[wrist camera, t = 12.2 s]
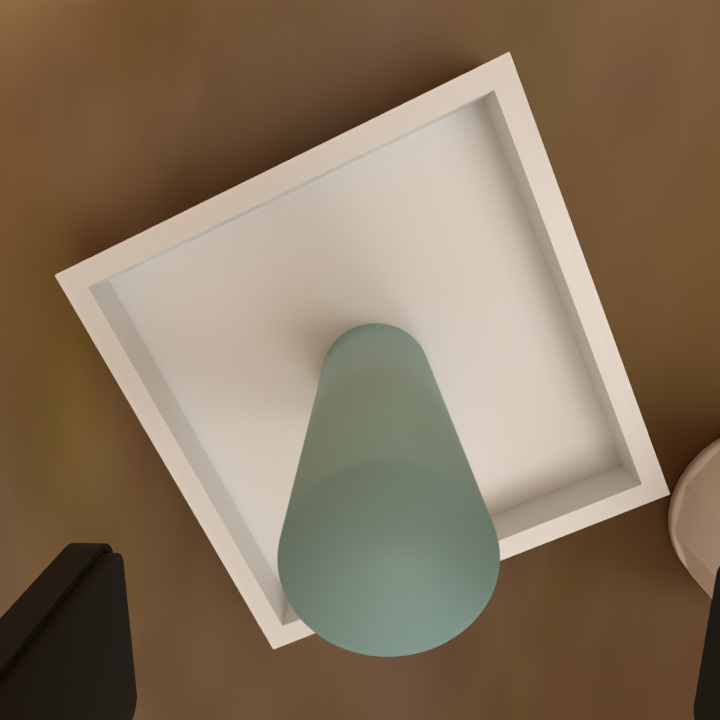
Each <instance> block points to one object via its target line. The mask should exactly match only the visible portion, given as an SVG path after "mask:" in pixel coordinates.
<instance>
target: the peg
mask: <svg viewBox="0 0 720 720" xmlns="http://www.w3.org/2000/svg"><path fill="white" fill-rule="evenodd" d="M277 566H278V573H279V579H280V582H281V585H282V589H283V592H284V594H285V596H286V598H287V600H288V602H289V604H290V605H291V607H292V608H293V610H294V611H295V613H296V614H297V615H298V617H299V618H300V619H301V620H302V621H303V622H304V624H306V625H307V626H308V627H309V628H310V629H311V630H312V631H313V632H315V633H316V634H318V635H319V636H320V637H322V638H323V639H325V640H327V641H328V642H330V643H332V644H334V645H336V646H338V647H341V648H344V649H346V650H349V651H352V652H356V653H360V654H364V655H371V656H381V657H395V656H406V655H411V654H416V653H420V652H423V651H427V650H430V649H433V648H435V647H437V646H439V645H442V644H444V643H446V642H447V641H449V640H451V639H452V638H454V637H456V636H457V635H459V634H460V633H461V632H462V631H464V630H465V629H466V628H467V627H468V626H469V625H470V624H471V623H472V622H473V621H474V620H475V619H476V618H477V617H478V616H479V615H480V613H481V612H482V611H483V609H484V608H485V606H486V605H487V603H488V601H489V599H490V598H491V595H492V593H493V591H494V588H495V586H496V582H497V578H498V574H499V566H500V548H499V542H498V537H497V533H496V530H495V528H494V525H493V522H492V520H491V517H490V515H489V512H488V510H487V507H486V505H485V502H484V500H483V497H482V495H481V492H480V490H479V487H478V485H477V482H476V480H475V477H474V475H473V472H472V470H471V467H470V465H469V462H468V460H467V457H466V455H465V452H464V450H463V447H462V445H461V442H460V440H459V437H458V435H457V432H456V430H455V427H454V425H453V422H452V420H451V417H450V415H449V412H448V410H447V407H446V405H445V402H444V400H443V397H442V395H441V392H440V390H439V387H438V385H437V382H436V379H435V377H434V374H433V372H432V369H431V367H430V364H429V362H428V359H427V357H426V354H425V353H424V351H423V349H422V347H421V346H420V345H419V343H418V342H417V341H416V340H415V339H414V338H413V337H412V336H411V335H409V334H408V333H407V332H405V331H403V330H402V329H399V328H397V327H395V326H391V325H387V324H378V323H373V324H365V325H361V326H358V327H355V328H353V329H351V330H349V331H347V332H346V333H344V334H343V335H342V336H340V337H339V338H338V339H337V340H336V341H335V343H334V344H333V345H332V346H331V348H330V349H329V351H328V353H327V355H326V358H325V361H324V364H323V368H322V372H321V376H320V380H319V384H318V388H317V392H316V396H315V400H314V404H313V408H312V412H311V416H310V420H309V424H308V428H307V432H306V436H305V440H304V444H303V448H302V452H301V456H300V460H299V464H298V468H297V472H296V476H295V480H294V484H293V488H292V492H291V496H290V500H289V504H288V508H287V512H286V516H285V520H284V524H283V528H282V532H281V536H280V539H279V546H278V553H277Z"/></svg>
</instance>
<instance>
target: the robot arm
mask: <svg viewBox="0 0 720 720" xmlns="http://www.w3.org/2000/svg"><path fill="white" fill-rule="evenodd" d="M136 700H137V692H136V682H135V672H134V662H133V652H132V642H131V632H130V623H129V613H128V603H127V593H126V583H125V573H124V563H123V558H122V556H121V554H119V553H113V551H112V548H111V546H110V545H108V544H102V543H71V544H69V545H68V546H66V547H65V548H64V549H63V550H62V552H61V553H60V554H59V555H58V556H57V557H56V558H55V559H54V560H53V561H52V563H51V564H50V565H49V566H48V567H47V568H46V569H45V570H44V571H43V572H42V574H41V575H40V576H39V577H38V578H37V579H36V580H35V581H34V582H33V583H32V584H31V586H30V587H29V588H28V589H27V590H26V591H25V592H24V593H23V594H22V595H21V597H20V598H19V599H18V600H17V601H16V602H15V603H14V604H13V605H12V606H11V607H10V609H9V610H8V611H7V612H6V613H5V614H4V615H3V616H2V617H1V618H0V720H132V719H133V716H134V712H135V708H136ZM694 718H695V720H720V567H719V568H718V570H717V573H716V578H715V584H714V590H713V596H712V602H711V608H710V614H709V620H708V626H707V632H706V638H705V643H704V649H703V655H702V661H701V667H700V673H699V679H698V685H697V691H696V697H695V703H694Z"/></svg>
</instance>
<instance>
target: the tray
mask: <svg viewBox="0 0 720 720" xmlns="http://www.w3.org/2000/svg"><path fill="white" fill-rule="evenodd" d="M55 277H56V279H57V280H58V282H59V284H60V285H61V287H62V289H63V291H64V292H65V294H66V296H67V297H68V299H69V301H70V303H71V304H72V306H73V308H74V309H75V311H76V313H77V315H78V316H79V318H80V320H81V321H82V323H83V325H84V326H85V328H86V330H87V332H88V333H89V335H90V337H91V338H92V340H93V342H94V344H95V345H96V347H97V349H98V350H99V352H100V354H101V356H102V357H103V359H104V361H105V362H106V364H107V366H108V368H109V369H110V371H111V373H112V374H113V376H114V378H115V379H116V381H117V383H118V385H119V386H120V388H121V390H122V391H123V393H124V395H125V397H126V398H127V400H128V402H129V403H130V405H131V407H132V409H133V410H134V412H135V414H136V415H137V417H138V419H139V421H140V422H141V424H142V426H143V427H144V429H145V431H146V432H147V434H148V436H149V438H150V439H151V441H152V443H153V444H154V446H155V448H156V450H157V451H158V453H159V455H160V456H161V458H162V460H163V462H164V463H165V465H166V467H167V468H168V470H169V472H170V474H171V475H172V477H173V479H174V480H175V482H176V484H177V485H178V487H179V489H180V491H181V492H182V494H183V496H184V497H185V499H186V501H187V503H188V504H189V506H190V508H191V509H192V511H193V513H194V515H195V516H196V518H197V520H198V521H199V523H200V525H201V527H202V528H203V530H204V532H205V533H206V535H207V537H208V538H209V540H210V542H211V544H212V545H213V547H214V549H215V550H216V552H217V554H218V556H219V557H220V559H221V561H222V562H223V564H224V566H225V568H226V569H227V571H228V573H229V574H230V576H231V578H232V580H233V581H234V583H235V585H236V586H237V588H238V590H239V591H240V593H241V595H242V597H243V598H244V600H245V602H246V603H247V605H248V607H249V609H250V610H251V612H252V614H253V615H254V617H255V619H256V621H257V622H258V624H259V626H260V627H261V629H262V631H263V633H264V634H265V636H266V638H267V639H268V641H269V643H270V644H271V646H272V648H273V649H276V648H278V647H281V646H284V645H286V644H289V643H291V642H294V641H296V640H299V639H301V638H304V637H307V636H309V635H312V634H314V633H315V632H313V631H312V630H311V629H310V628H309V627H308V626H307V625H306V624H304V622H303V621H302V620H301V619H300V618H299V617H298V615H297V614H296V613H295V611H294V610H293V608H292V607H291V605H290V604H289V602H288V600H287V598H286V596H285V594H284V592H283V589H282V585H281V582H280V579H279V573H278V566H277V553H278V546H279V539H280V536H281V532H282V528H283V524H284V520H285V516H286V512H287V508H288V504H289V500H290V496H291V492H292V488H293V484H294V480H295V476H296V472H297V468H298V464H299V460H300V456H301V452H302V448H303V444H304V440H305V436H306V432H307V428H308V424H309V420H310V416H311V412H312V408H313V404H314V400H315V396H316V392H317V388H318V384H319V380H320V376H321V372H322V368H323V364H324V361H325V358H326V355H327V353H328V351H329V349H330V348H331V346H332V345H333V344H334V343H335V341H336V340H337V339H338V338H339V337H340V336H342V335H343V334H344V333H346V332H347V331H349V330H351V329H353V328H355V327H358V326H361V325H365V324H373V323H378V324H387V325H391V326H395V327H397V328H399V329H402V330H403V331H405V332H407V333H408V334H409V335H411V336H412V337H413V338H414V339H415V340H416V341H417V342H418V343H419V345H420V346H421V347H422V349H423V351H424V353H425V354H426V357H427V359H428V362H429V364H430V367H431V369H432V372H433V374H434V377H435V379H436V382H437V385H438V387H439V390H440V392H441V395H442V397H443V400H444V402H445V405H446V407H447V410H448V412H449V415H450V417H451V420H452V422H453V425H454V427H455V430H456V432H457V435H458V437H459V440H460V442H461V445H462V447H463V450H464V452H465V455H466V457H467V460H468V462H469V465H470V467H471V470H472V472H473V475H474V477H475V480H476V482H477V485H478V487H479V490H480V492H481V495H482V497H483V500H484V502H485V505H486V507H487V510H488V512H489V515H490V517H491V520H492V522H493V525H494V528H495V530H496V533H497V537H498V542H499V548H500V561H501V560H504V559H506V558H509V557H511V556H514V555H516V554H519V553H521V552H524V551H527V550H529V549H532V548H534V547H537V546H539V545H542V544H544V543H547V542H550V541H552V540H555V539H557V538H560V537H562V536H565V535H567V534H570V533H573V532H575V531H578V530H580V529H583V528H585V527H588V526H590V525H593V524H596V523H598V522H601V521H603V520H606V519H608V518H611V517H613V516H616V515H619V514H621V513H624V512H626V511H629V510H631V509H634V508H637V507H639V506H642V505H644V504H647V503H649V502H652V501H654V500H657V499H660V498H662V497H665V496H667V495H670V493H669V490H668V487H667V484H666V482H665V479H664V476H663V473H662V471H661V468H660V465H659V462H658V459H657V457H656V454H655V451H654V448H653V446H652V443H651V440H650V437H649V435H648V432H647V429H646V426H645V424H644V421H643V418H642V415H641V413H640V410H639V407H638V404H637V402H636V399H635V396H634V393H633V391H632V388H631V385H630V382H629V380H628V377H627V374H626V371H625V369H624V366H623V363H622V360H621V358H620V355H619V352H618V349H617V347H616V344H615V341H614V338H613V336H612V333H611V330H610V327H609V324H608V322H607V319H606V316H605V313H604V311H603V308H602V305H601V302H600V300H599V297H598V294H597V291H596V289H595V286H594V283H593V280H592V278H591V275H590V272H589V269H588V267H587V264H586V261H585V258H584V256H583V253H582V250H581V247H580V245H579V242H578V239H577V236H576V234H575V231H574V228H573V225H572V223H571V220H570V217H569V214H568V212H567V209H566V206H565V203H564V200H563V198H562V195H561V192H560V189H559V187H558V184H557V181H556V178H555V176H554V173H553V170H552V167H551V165H550V162H549V159H548V156H547V154H546V151H545V148H544V145H543V143H542V140H541V137H540V134H539V132H538V129H537V126H536V123H535V121H534V118H533V115H532V112H531V110H530V107H529V104H528V101H527V99H526V96H525V93H524V90H523V88H522V85H521V82H520V79H519V77H518V74H517V71H516V68H515V65H514V63H513V60H512V57H511V54H510V52H508V53H506V54H504V55H502V56H500V57H498V58H495V59H493V60H491V61H489V62H487V63H485V64H483V65H481V66H479V67H477V68H475V69H473V70H471V71H469V72H467V73H465V74H463V75H461V76H459V77H457V78H455V79H453V80H451V81H449V82H447V83H445V84H443V85H441V86H438V87H436V88H434V89H432V90H430V91H428V92H426V93H424V94H422V95H420V96H418V97H416V98H414V99H412V100H410V101H408V102H406V103H404V104H402V105H400V106H398V107H396V108H394V109H392V110H390V111H388V112H386V113H384V114H381V115H379V116H377V117H375V118H373V119H371V120H369V121H367V122H365V123H363V124H361V125H359V126H357V127H355V128H353V129H351V130H349V131H347V132H345V133H343V134H341V135H339V136H337V137H335V138H333V139H331V140H329V141H326V142H324V143H322V144H320V145H318V146H316V147H314V148H312V149H310V150H308V151H306V152H304V153H302V154H300V155H298V156H296V157H294V158H292V159H290V160H288V161H286V162H284V163H282V164H280V165H278V166H276V167H274V168H272V169H269V170H267V171H265V172H263V173H261V174H259V175H257V176H255V177H253V178H251V179H249V180H247V181H245V182H243V183H241V184H239V185H237V186H235V187H233V188H231V189H229V190H227V191H225V192H223V193H221V194H219V195H217V196H215V197H212V198H210V199H208V200H206V201H204V202H202V203H200V204H198V205H196V206H194V207H192V208H190V209H188V210H186V211H184V212H182V213H180V214H178V215H176V216H174V217H172V218H170V219H168V220H166V221H164V222H162V223H160V224H157V225H155V226H153V227H151V228H149V229H147V230H145V231H143V232H141V233H139V234H137V235H135V236H133V237H131V238H129V239H127V240H125V241H123V242H121V243H119V244H117V245H115V246H113V247H111V248H109V249H107V250H105V251H103V252H100V253H98V254H96V255H94V256H92V257H90V258H88V259H86V260H84V261H82V262H80V263H78V264H76V265H74V266H72V267H70V268H68V269H66V270H64V271H62V272H60V273H58V274H56V275H55Z"/></svg>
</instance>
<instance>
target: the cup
mask: <svg viewBox="0 0 720 720" xmlns="http://www.w3.org/2000/svg"><path fill="white" fill-rule="evenodd" d="M668 530H669V536H670V540H671V543H672V546H673V548H674V551H675V553H676V555H677V556H678V558H679V559H680V561H681V562H682V564H683V565H684V566H685V567H686V568H687V569H688V571H689V573H690V574H691V576H692V577H693V578H694V579H695V580H696V581H697V582H698V584H699V585H700V586H701V587H702V588H703V589H704V590H705V592H706V593H707V594H708V595H709V596H710V597H711V598H712V596H713V590H714V584H715V578H716V573H717V570H718V568H719V567H720V438H718V439H717V440H715V441H713V442H712V443H711V444H709V445H708V446H707V447H706V448H704V449H703V450H702V451H701V452H700V453H699V454H698V455H697V456H696V457H695V458H694V459H693V460H692V461H691V463H690V464H689V465H688V466H687V467H686V469H685V470H684V472H683V473H682V475H681V477H680V478H679V480H678V482H677V484H676V486H675V488H674V491H673V494H672V497H671V500H670V504H669V510H668Z"/></svg>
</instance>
